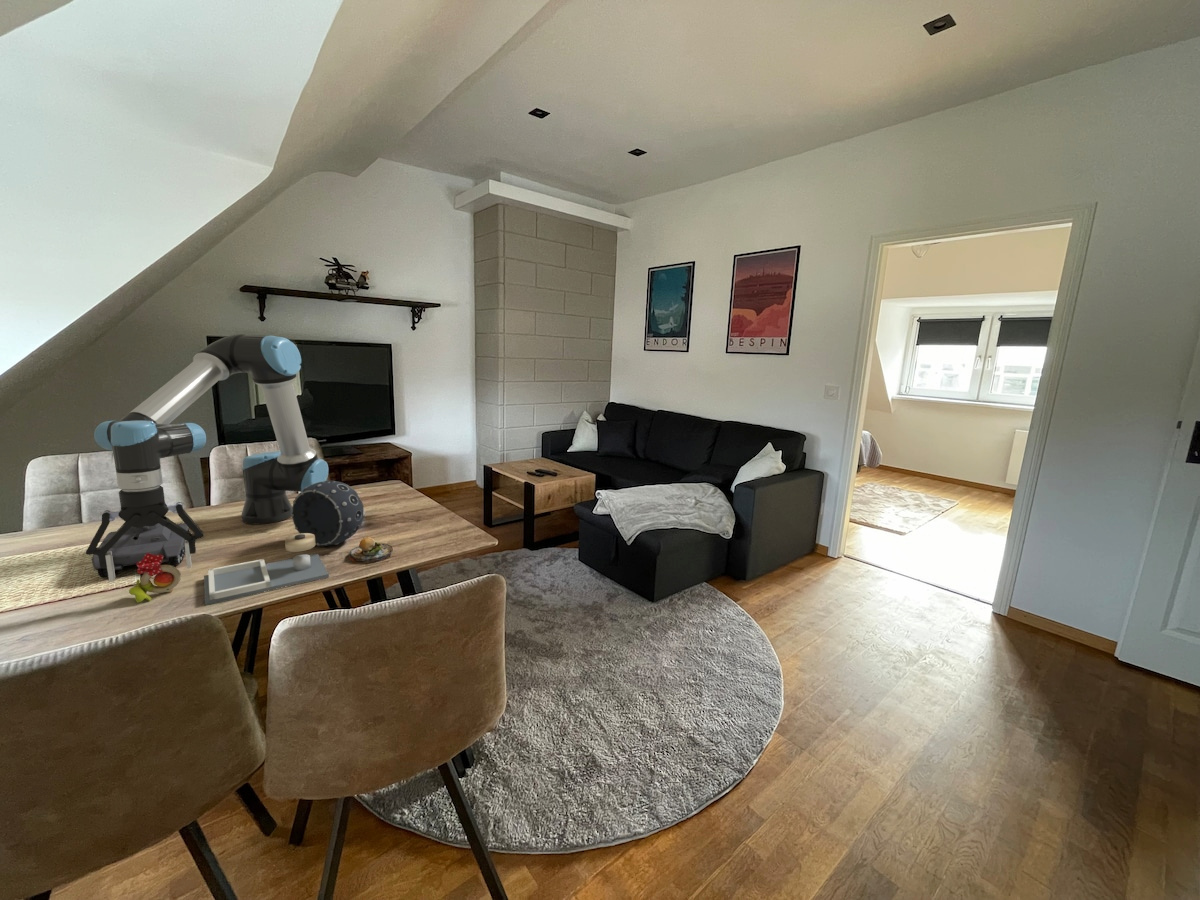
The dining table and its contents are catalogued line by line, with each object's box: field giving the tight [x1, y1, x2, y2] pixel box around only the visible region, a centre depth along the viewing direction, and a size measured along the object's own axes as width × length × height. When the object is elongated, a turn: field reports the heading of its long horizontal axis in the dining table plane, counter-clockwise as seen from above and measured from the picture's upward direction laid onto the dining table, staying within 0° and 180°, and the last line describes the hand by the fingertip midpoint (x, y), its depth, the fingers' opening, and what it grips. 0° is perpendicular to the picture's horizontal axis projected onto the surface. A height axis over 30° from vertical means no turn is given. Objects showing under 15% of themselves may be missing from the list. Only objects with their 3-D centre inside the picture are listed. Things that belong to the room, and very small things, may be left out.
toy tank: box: [91, 522, 192, 578], centre depth 134 cm, size 18×25×15 cm
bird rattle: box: [128, 553, 182, 603], centre depth 116 cm, size 6×11×9 cm
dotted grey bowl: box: [291, 480, 365, 547], centre depth 150 cm, size 11×20×20 cm, turn 78°
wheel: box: [284, 533, 317, 553], centre depth 131 cm, size 7×7×3 cm
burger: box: [348, 536, 393, 564], centre depth 144 cm, size 12×12×8 cm
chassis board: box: [203, 552, 330, 606], centre depth 127 cm, size 16×26×4 cm, turn 129°
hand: (152, 572), depth 115 cm, fingers open, 13 cm apart
